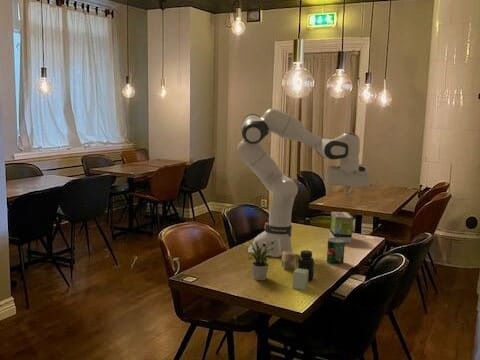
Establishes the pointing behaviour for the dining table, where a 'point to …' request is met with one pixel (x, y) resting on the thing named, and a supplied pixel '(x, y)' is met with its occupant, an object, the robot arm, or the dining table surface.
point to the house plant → (260, 262)
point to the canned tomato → (335, 251)
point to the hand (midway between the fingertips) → (347, 194)
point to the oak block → (288, 260)
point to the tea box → (341, 226)
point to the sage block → (300, 279)
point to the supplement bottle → (307, 263)
